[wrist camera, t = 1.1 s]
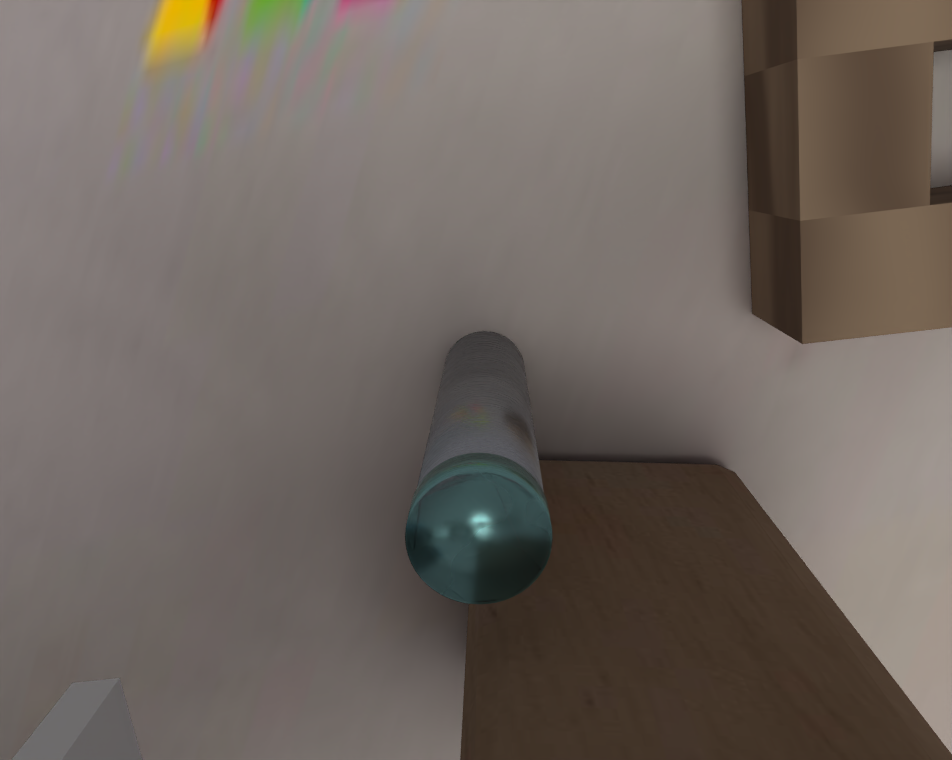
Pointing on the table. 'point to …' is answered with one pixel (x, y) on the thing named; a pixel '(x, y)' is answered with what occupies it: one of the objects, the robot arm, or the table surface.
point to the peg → (480, 480)
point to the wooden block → (675, 636)
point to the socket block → (845, 167)
